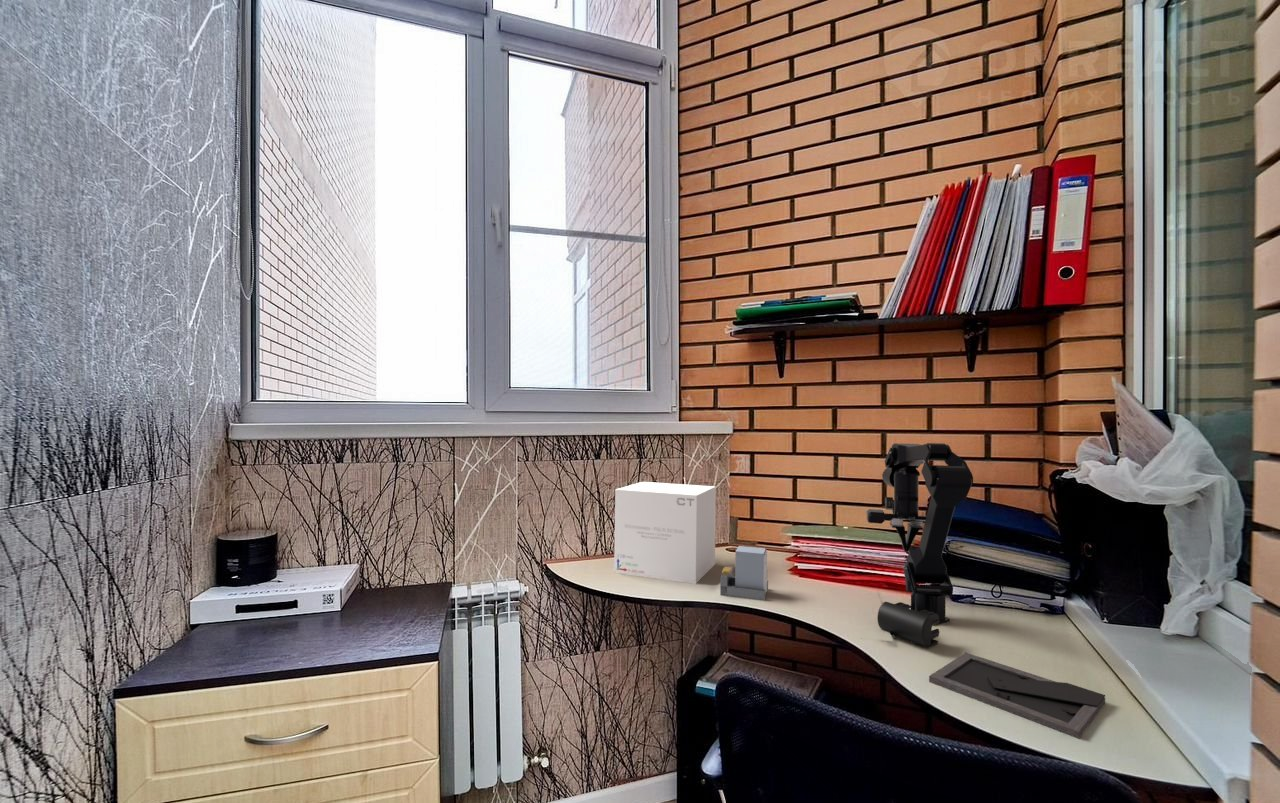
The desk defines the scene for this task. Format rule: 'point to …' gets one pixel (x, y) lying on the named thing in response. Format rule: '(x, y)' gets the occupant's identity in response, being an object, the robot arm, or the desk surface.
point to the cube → (665, 531)
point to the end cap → (909, 623)
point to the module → (751, 567)
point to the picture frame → (1021, 693)
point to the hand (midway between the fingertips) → (906, 551)
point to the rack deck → (731, 590)
